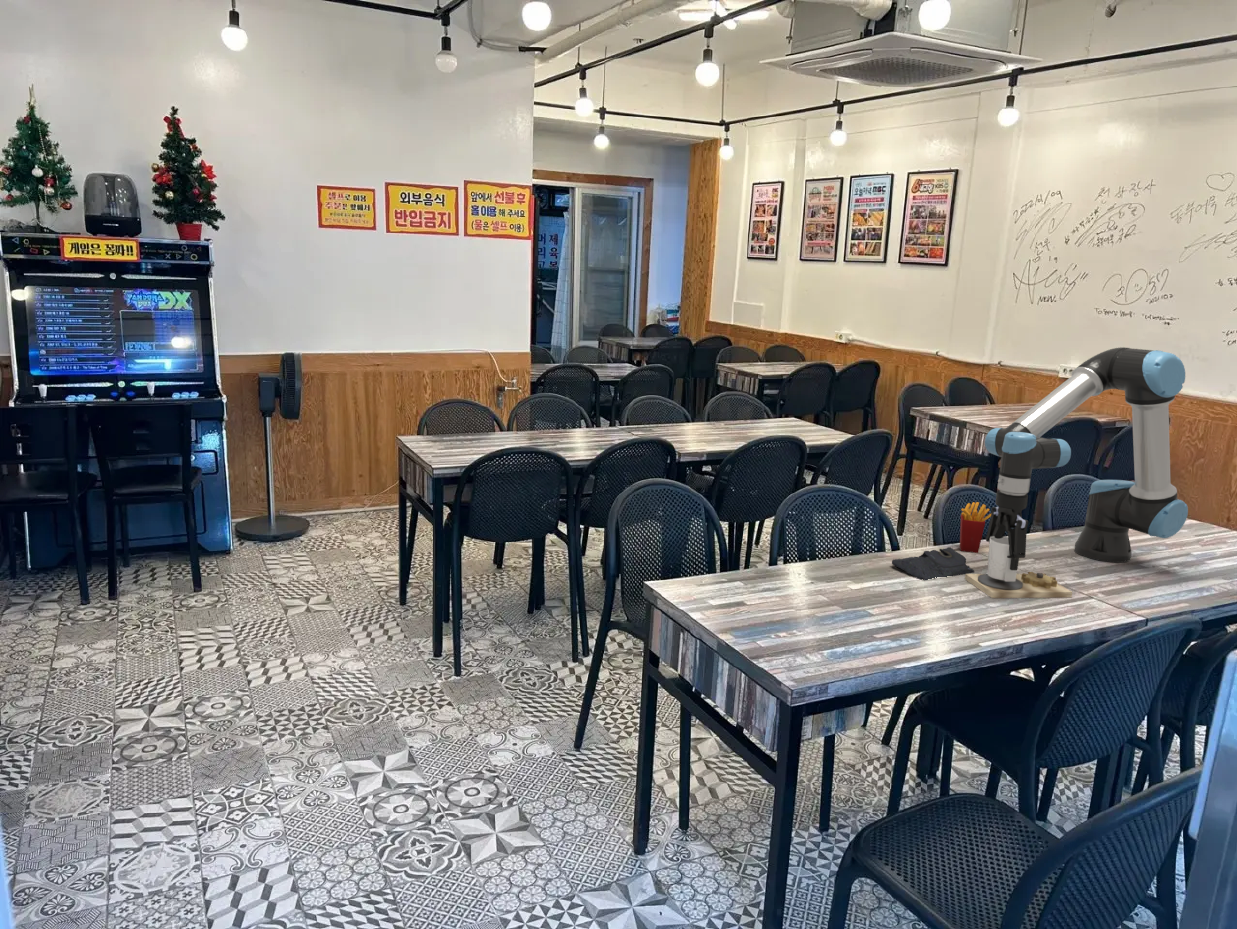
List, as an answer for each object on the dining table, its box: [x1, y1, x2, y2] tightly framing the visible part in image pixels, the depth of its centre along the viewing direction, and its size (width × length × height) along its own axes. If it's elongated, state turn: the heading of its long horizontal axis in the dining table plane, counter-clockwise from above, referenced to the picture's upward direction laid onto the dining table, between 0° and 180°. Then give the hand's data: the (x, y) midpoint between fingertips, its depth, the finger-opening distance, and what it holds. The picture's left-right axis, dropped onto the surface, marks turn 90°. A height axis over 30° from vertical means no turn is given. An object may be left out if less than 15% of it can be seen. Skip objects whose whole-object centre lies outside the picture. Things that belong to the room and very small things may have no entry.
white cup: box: [987, 536, 1010, 580], centre depth 230 cm, size 8×8×10 cm
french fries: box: [959, 501, 991, 554], centre depth 263 cm, size 9×8×15 cm
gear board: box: [964, 571, 1073, 599], centre depth 232 cm, size 22×14×4 cm, turn 96°
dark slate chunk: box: [891, 546, 975, 581], centre depth 245 cm, size 15×22×5 cm
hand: (1001, 575), depth 231 cm, fingers closed on white cup, 8 cm apart
